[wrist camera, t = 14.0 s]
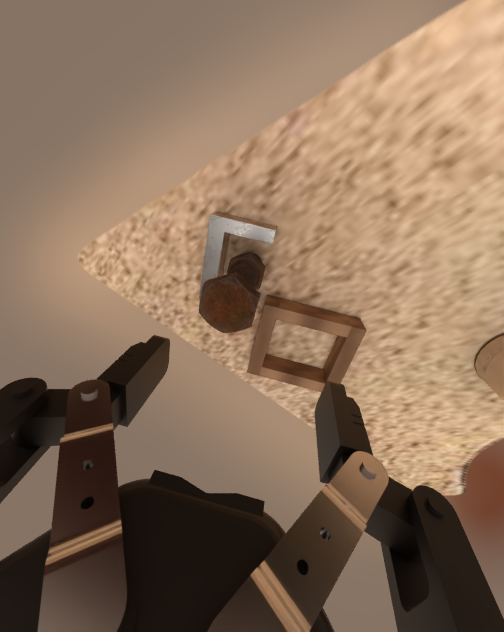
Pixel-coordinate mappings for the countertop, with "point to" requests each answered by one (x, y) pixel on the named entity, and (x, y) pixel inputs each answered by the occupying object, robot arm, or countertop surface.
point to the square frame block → (314, 318)
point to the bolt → (233, 295)
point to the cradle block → (219, 240)
